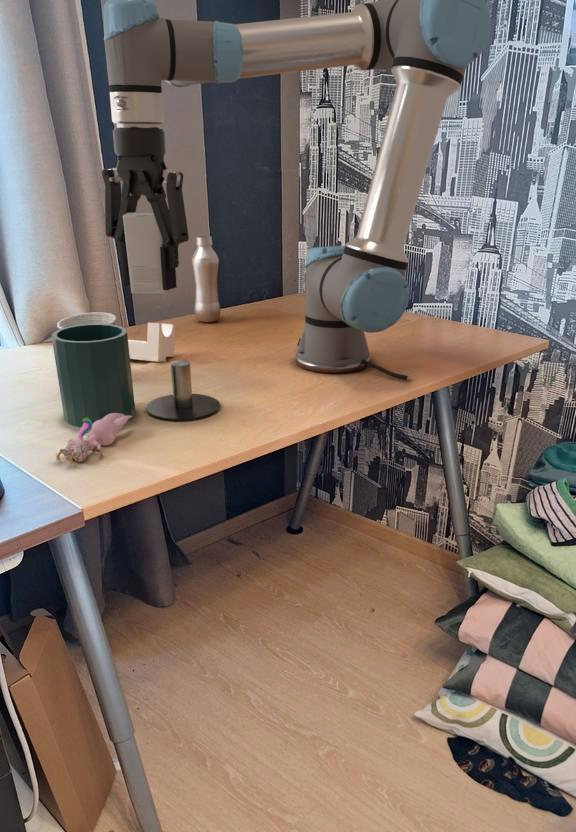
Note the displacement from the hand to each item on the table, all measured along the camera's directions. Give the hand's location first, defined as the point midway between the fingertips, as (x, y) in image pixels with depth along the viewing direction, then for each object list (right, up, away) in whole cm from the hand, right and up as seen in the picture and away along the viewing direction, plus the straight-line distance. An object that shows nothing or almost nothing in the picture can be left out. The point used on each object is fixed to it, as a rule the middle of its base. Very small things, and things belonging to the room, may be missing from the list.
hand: (150, 285), depth 117 cm
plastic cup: (-15, -12, +22) cm, 29 cm away
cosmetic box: (0, -1, +1) cm, 1 cm away
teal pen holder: (-9, -21, +4) cm, 23 cm away
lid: (+4, -19, +7) cm, 21 cm away
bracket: (-9, -4, +36) cm, 37 cm away
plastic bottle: (+2, +11, +63) cm, 64 cm away
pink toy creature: (-7, -27, -7) cm, 29 cm away
